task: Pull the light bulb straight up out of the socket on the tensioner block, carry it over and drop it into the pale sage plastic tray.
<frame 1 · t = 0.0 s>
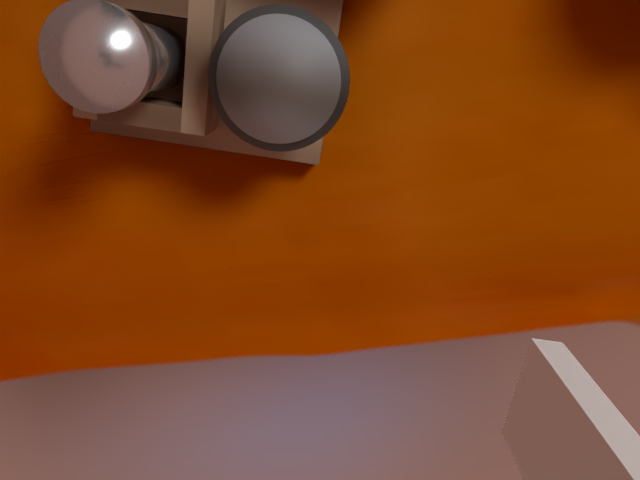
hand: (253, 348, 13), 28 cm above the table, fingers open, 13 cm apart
tensioner block: (167, 57, 37), on the table
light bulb: (159, 57, 35), point 2 cm above the table, touching tensioner block
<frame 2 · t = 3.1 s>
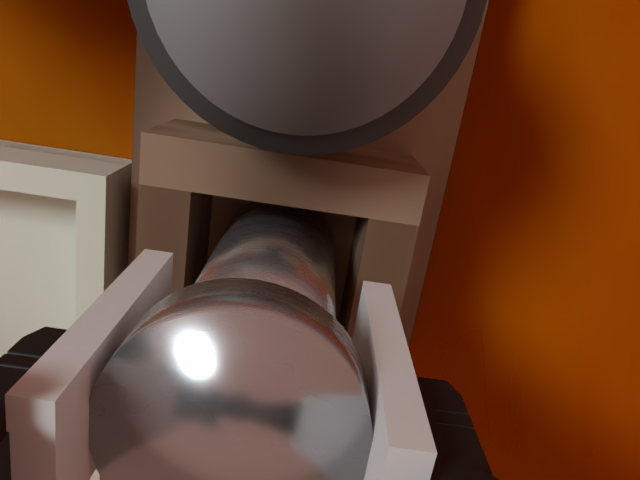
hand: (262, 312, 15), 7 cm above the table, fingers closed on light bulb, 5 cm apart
tensioner block: (283, 231, 22), on the table
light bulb: (279, 248, 20), point 2 cm above the table, touching gripper, tensioner block
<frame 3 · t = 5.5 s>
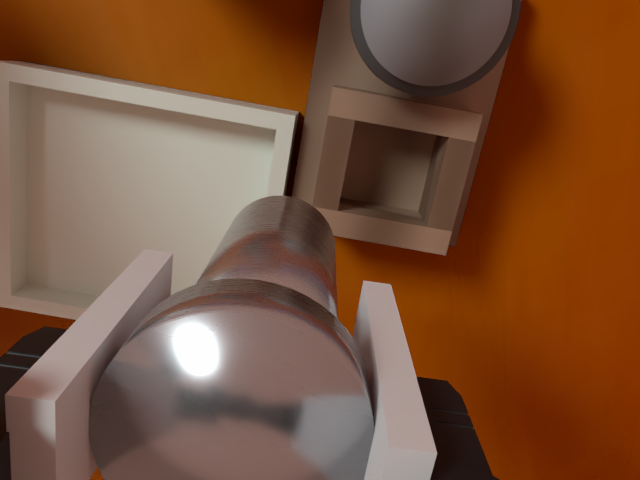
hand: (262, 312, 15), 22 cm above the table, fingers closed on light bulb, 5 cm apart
tensioner block: (384, 158, 35), on the table
tray: (151, 205, 37), on the table
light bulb: (280, 248, 20), point 17 cm above the table, touching gripper
when the fingers open (8 cm above the table, at t = 8.4 s): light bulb drops 2 cm, resting on tray.
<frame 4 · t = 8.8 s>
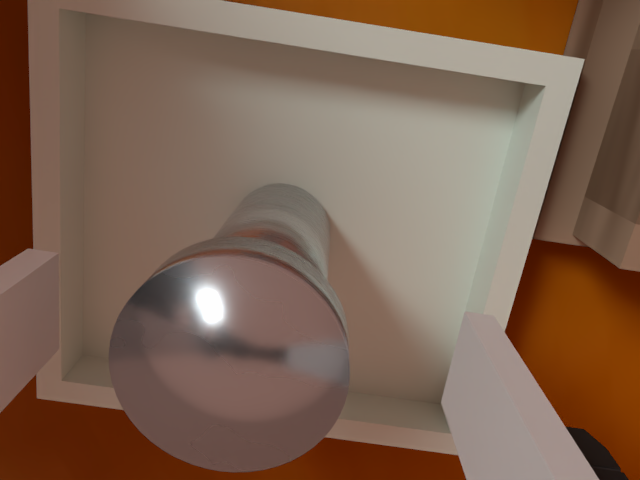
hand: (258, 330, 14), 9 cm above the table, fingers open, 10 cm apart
tray: (285, 224, 23), on the table
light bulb: (280, 232, 22), point 1 cm above the table, touching tray
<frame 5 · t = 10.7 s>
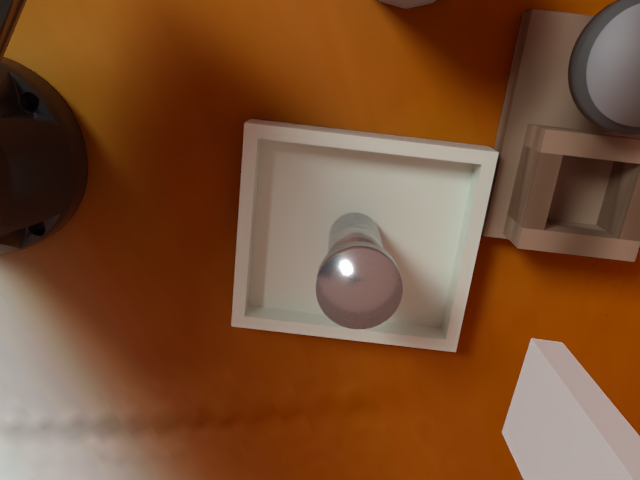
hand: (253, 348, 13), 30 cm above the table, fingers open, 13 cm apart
tensioner block: (559, 181, 41), on the table
tray: (355, 232, 43), on the table
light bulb: (354, 237, 42), point 1 cm above the table, touching tray
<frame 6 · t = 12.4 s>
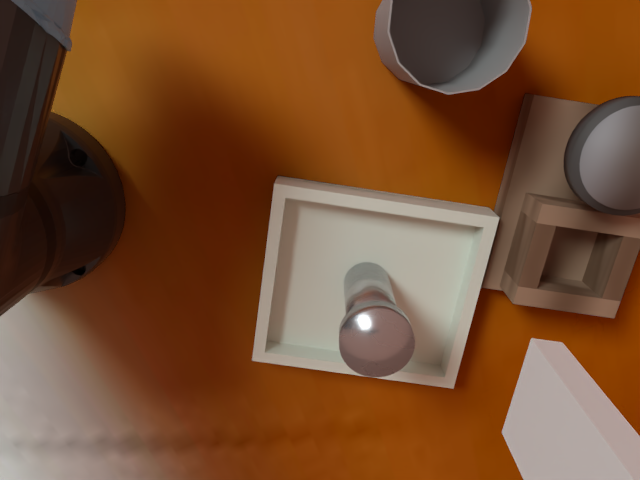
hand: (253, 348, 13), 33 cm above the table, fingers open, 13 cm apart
tensioner block: (551, 240, 46), on the table
cup: (428, 29, 41), on the table
tray: (367, 278, 48), on the table
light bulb: (366, 283, 47), point 1 cm above the table, touching tray
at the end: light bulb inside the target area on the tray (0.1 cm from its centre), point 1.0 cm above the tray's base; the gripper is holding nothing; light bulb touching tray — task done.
